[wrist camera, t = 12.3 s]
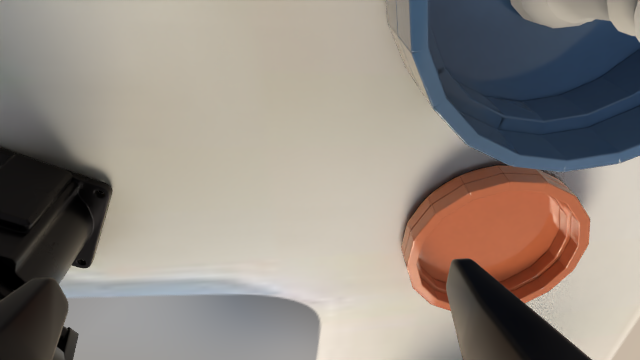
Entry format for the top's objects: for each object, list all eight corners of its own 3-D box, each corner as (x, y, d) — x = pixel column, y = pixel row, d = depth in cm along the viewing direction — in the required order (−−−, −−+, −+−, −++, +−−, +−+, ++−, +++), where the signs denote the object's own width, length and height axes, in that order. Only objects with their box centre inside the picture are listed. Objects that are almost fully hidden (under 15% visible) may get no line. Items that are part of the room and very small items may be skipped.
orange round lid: (493, 305, 29) (505, 329, 27) (370, 262, 26) (375, 286, 24) (607, 200, 24) (630, 222, 22) (470, 133, 21) (485, 152, 19)
